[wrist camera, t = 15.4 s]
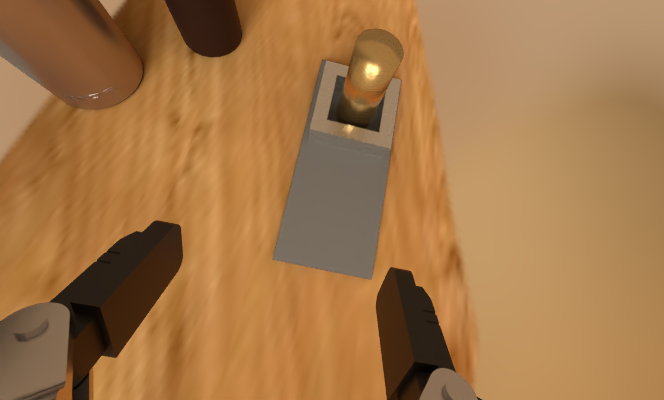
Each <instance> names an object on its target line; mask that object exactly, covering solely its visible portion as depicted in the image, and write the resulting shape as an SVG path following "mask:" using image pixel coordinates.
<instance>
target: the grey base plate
mask: <svg viewBox="0 0 664 400" xmlns="http://www.w3.org/2000/svg"><path fill="white" fill-rule="evenodd" d="M325 64H326V60H322V63H321V67H320V71H319V75H318V79H317V83H316V87H315V91H314V95H313V99H312V103H311V107H310V111H309V115H308V119H307V123H306V127H305V131H304V135H303V139H302V143H301V147H300V151H299V155H298V159H297V163H296V167H295V171H294V175H293V179H292V183H291V187H290V191H289V195H288V199H287V204H286V208H285V212H284V216H283V220H282V224H281V228H280V232H279V236H278V240H277V244H276V248H275V252H274V256H273V260H277V261H282V262H287V263H292V264H297V265H302V266H306V267H311V268H316V269H321V270H326V271H331V272H336V273H341V274H346V275H351V276H355V277H360V278H365V279H371V280H372V275H373V268H374V261H375V255H376V248H377V241H378V235H379V228H380V221H381V215H382V208H383V201H384V195H385V188H386V181H387V175H388V168H389V161H390V154H391V149H390V150H389V152H388V153H387V154H386V156H385V157H384V158H381V157H377V156H373V155H368V154H364V153H360V152H356V151H352V150H347V149H343V148H339V147H335V146H331V145H326V144H322V143H318V142H314V141H310V140H309V130H310V125H311V121H312V117H313V113H314V109H315V105H316V101H317V97H318V93H319V88H320V84H321V80H322V76H323V72H324V68H325ZM401 81H402V80H401ZM400 88H401V85H400ZM341 94H342V92H341V91H337V90H334V92H333V96H332V101H331V105H330V110H329V114H328V118H327V120H330V121H334V122H338V121H337V119H336V112H337V108H338V105H339V101H340V97H341ZM399 94H400V91H399ZM398 101H399V98H398ZM397 108H398V105H397ZM378 109H379V105H378V107H377V109H376V111H375V113H374V115H373V117H372V119H371V121H370V123H369V125H368V126H367V128H366V129H367V130H371V131H375V127H376V121H377V115H378ZM396 114H397V111H396ZM395 121H396V118H395ZM394 128H395V125H394ZM393 134H394V131H393ZM392 141H393V138H392ZM391 148H392V145H391Z"/></svg>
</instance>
